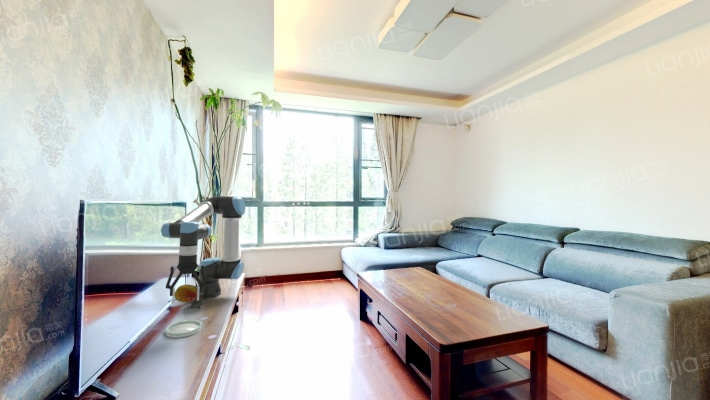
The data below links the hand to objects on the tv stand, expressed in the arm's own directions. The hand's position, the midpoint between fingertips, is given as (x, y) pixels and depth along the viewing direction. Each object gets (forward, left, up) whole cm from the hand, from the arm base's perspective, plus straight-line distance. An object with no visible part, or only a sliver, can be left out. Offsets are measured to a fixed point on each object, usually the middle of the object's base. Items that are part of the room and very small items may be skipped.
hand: (185, 301), depth 134 cm
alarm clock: (-30, +5, -14) cm, 34 cm away
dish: (0, 0, -14) cm, 14 cm away
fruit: (0, 0, -1) cm, 1 cm away
